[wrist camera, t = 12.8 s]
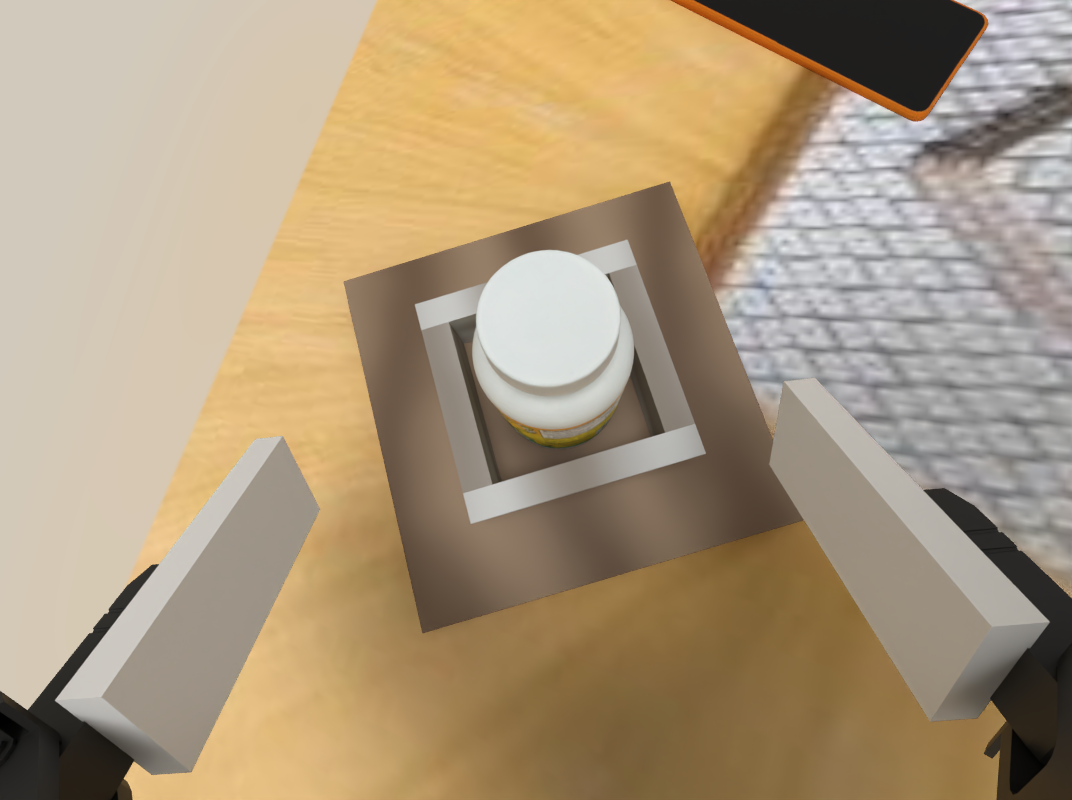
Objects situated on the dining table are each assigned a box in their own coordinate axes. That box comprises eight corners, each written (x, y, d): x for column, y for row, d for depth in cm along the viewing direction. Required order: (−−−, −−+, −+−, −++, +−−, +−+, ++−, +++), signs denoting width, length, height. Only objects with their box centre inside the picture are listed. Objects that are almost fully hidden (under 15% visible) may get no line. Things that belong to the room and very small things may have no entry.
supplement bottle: (631, 431, 22) (675, 383, 13) (517, 464, 22) (476, 439, 13) (596, 323, 23) (613, 204, 14) (488, 354, 23) (431, 257, 14)
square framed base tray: (665, 196, 26) (683, 138, 21) (792, 518, 22) (842, 523, 18) (354, 291, 26) (312, 252, 22) (430, 626, 22) (398, 655, 18)
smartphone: (915, 131, 26) (926, 119, 25) (646, -4, 29) (649, -19, 28) (985, 27, 27) (998, 12, 26) (717, -94, 29) (721, -111, 29)
